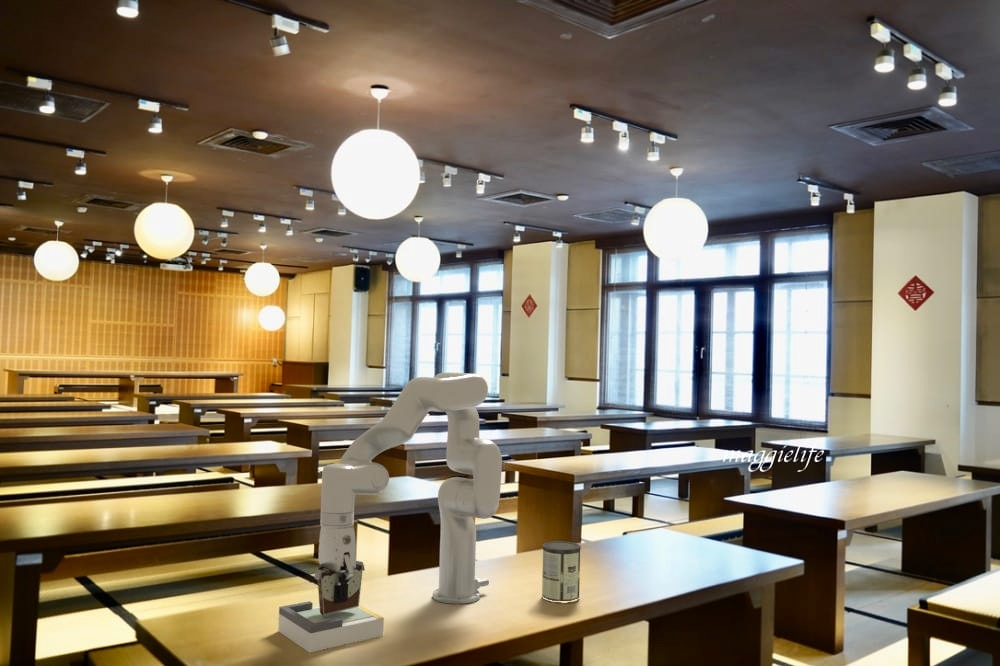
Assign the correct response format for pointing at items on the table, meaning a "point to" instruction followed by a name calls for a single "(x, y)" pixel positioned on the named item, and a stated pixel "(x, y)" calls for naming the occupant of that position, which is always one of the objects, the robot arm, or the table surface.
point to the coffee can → (561, 571)
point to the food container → (327, 589)
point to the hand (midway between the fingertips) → (334, 597)
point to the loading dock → (327, 626)
